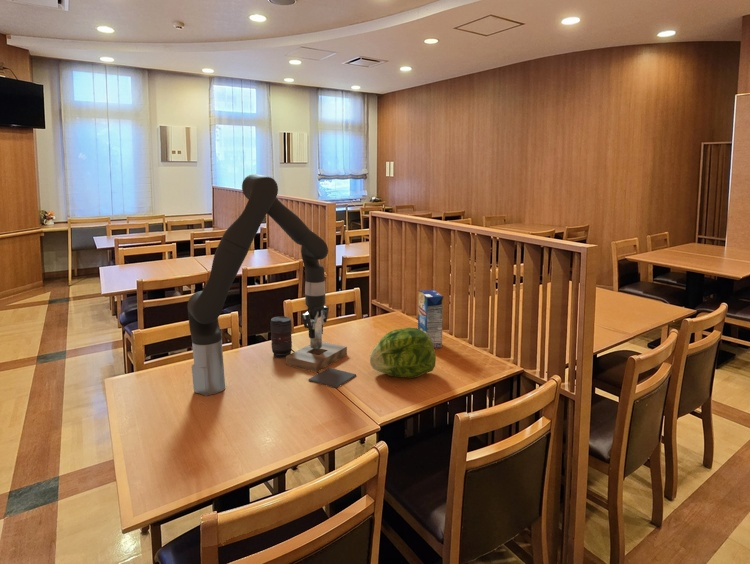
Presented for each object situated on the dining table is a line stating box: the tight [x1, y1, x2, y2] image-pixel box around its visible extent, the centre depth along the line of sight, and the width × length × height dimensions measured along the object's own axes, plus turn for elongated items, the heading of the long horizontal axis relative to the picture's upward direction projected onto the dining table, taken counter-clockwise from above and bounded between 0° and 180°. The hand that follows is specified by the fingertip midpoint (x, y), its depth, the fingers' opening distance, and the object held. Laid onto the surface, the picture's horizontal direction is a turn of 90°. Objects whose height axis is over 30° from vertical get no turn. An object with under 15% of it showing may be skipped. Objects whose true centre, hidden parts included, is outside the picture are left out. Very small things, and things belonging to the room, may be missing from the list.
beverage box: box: [417, 289, 444, 349], centre depth 206 cm, size 7×11×22 cm, turn 14°
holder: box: [285, 340, 348, 373], centre depth 191 cm, size 20×14×4 cm
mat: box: [308, 367, 357, 389], centre depth 175 cm, size 12×12×1 cm
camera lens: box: [270, 315, 293, 359], centre depth 195 cm, size 8×8×15 cm
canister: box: [309, 316, 323, 349], centre depth 189 cm, size 4×4×12 cm
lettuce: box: [369, 327, 437, 379], centre depth 176 cm, size 18×23×19 cm
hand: (316, 335), depth 189 cm, fingers closed on canister, 4 cm apart
